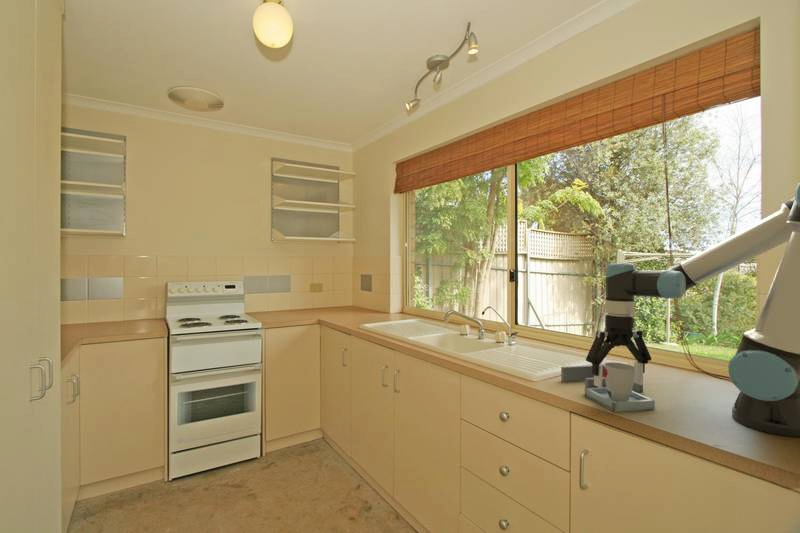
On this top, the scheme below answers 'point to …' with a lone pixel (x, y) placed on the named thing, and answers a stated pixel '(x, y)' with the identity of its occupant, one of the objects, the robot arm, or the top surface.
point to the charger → (612, 361)
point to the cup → (619, 380)
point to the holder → (587, 377)
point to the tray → (632, 404)
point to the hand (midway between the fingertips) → (618, 385)
